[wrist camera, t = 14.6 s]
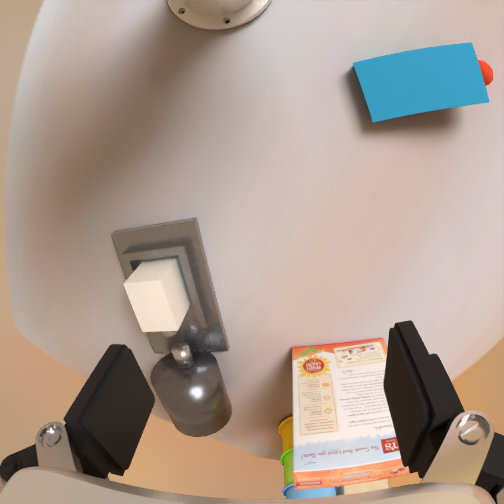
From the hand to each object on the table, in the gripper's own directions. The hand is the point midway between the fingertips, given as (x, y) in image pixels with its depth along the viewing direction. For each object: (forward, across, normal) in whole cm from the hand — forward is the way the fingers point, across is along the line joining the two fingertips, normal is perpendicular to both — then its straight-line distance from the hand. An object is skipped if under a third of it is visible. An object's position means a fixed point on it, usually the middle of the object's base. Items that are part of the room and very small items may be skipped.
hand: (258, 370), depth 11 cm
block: (+27, +16, +10) cm, 33 cm away
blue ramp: (+29, -20, -12) cm, 37 cm away
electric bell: (+28, +16, +17) cm, 37 cm away
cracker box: (+28, -6, +26) cm, 39 cm away
